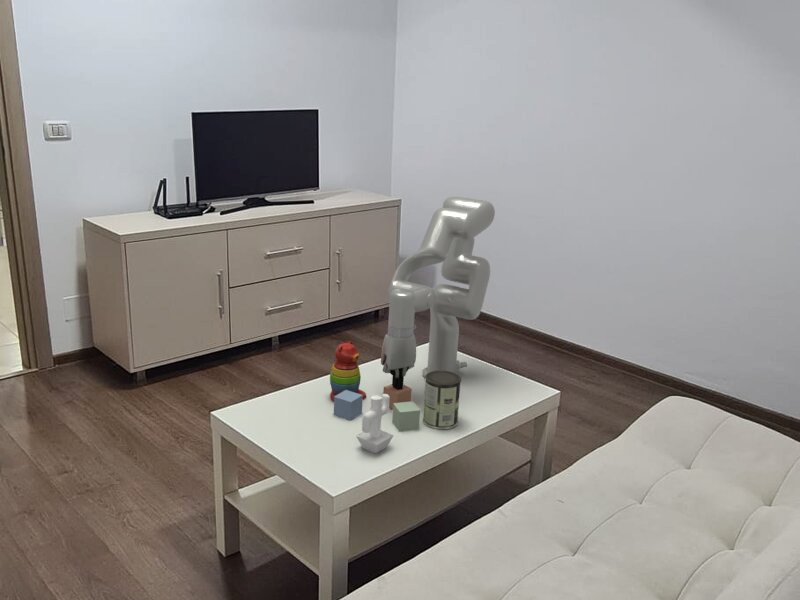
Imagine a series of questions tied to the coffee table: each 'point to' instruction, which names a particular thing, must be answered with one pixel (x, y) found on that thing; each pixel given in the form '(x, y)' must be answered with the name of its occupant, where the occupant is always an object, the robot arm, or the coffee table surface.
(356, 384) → the stacking bear
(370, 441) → the figurine
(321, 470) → the coffee table surface
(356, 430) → the coffee table surface
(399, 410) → the sage block
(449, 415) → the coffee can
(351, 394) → the slate block
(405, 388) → the terracotta block
